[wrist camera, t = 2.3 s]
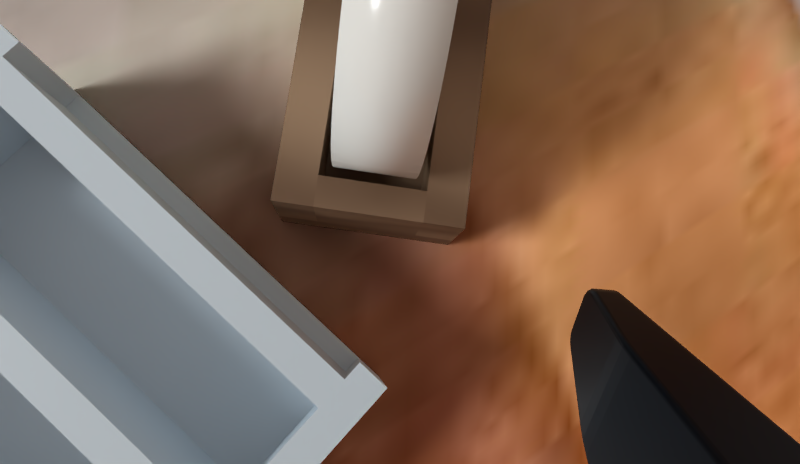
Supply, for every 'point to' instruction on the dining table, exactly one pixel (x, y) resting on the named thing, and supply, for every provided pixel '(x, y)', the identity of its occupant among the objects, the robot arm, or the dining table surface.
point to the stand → (370, 192)
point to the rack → (143, 309)
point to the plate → (388, 83)
